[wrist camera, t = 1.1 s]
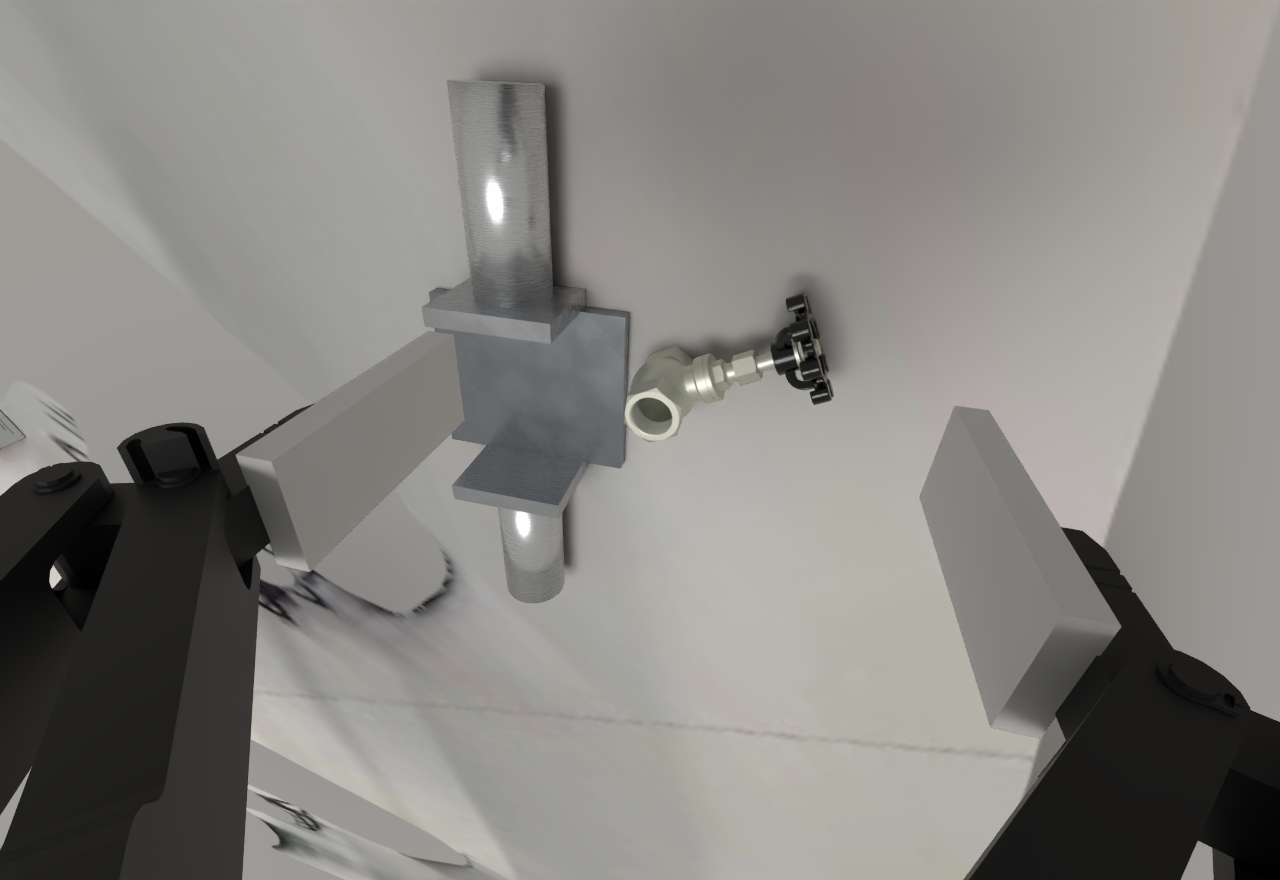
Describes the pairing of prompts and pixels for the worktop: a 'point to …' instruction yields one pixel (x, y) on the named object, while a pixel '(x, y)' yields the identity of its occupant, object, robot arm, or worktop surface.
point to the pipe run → (524, 339)
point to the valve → (723, 375)
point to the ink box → (8, 432)
